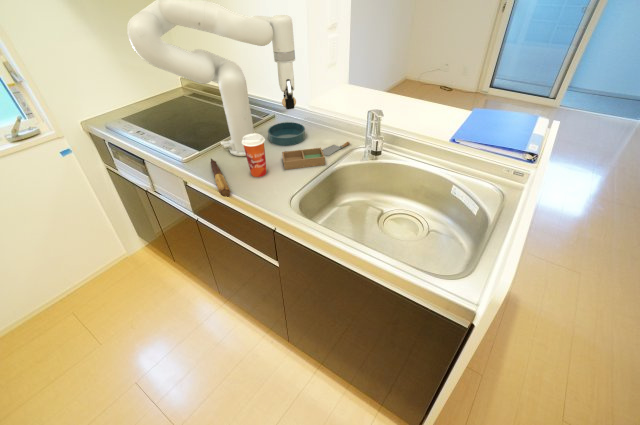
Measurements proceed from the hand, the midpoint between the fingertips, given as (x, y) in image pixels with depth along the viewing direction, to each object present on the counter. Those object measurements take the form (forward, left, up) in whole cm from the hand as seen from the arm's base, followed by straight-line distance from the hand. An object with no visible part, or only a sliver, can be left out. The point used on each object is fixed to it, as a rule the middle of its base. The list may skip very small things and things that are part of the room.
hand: (289, 106), depth 124 cm
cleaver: (+16, -10, -16) cm, 25 cm away
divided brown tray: (+2, -18, -15) cm, 24 cm away
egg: (0, 0, -1) cm, 1 cm away
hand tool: (-24, -34, -11) cm, 43 cm away
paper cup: (-15, -22, -16) cm, 31 cm away
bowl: (-2, +5, -15) cm, 16 cm away
